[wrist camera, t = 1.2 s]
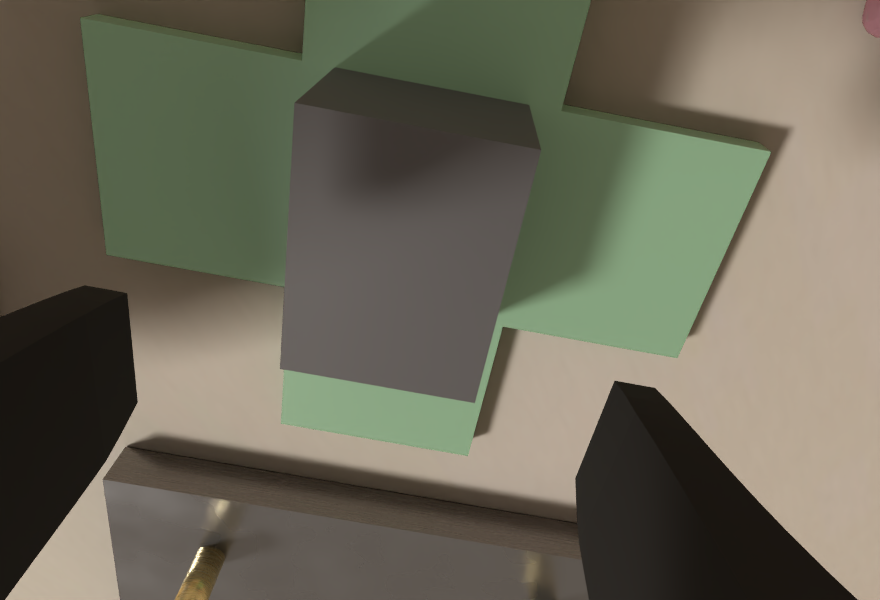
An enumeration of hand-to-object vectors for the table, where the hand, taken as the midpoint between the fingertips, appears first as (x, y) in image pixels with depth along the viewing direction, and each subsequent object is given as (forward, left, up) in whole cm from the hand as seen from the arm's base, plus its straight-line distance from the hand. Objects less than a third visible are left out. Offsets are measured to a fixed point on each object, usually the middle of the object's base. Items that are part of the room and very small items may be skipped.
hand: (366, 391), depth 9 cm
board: (0, 0, -8) cm, 8 cm away
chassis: (+1, -20, -8) cm, 22 cm away
